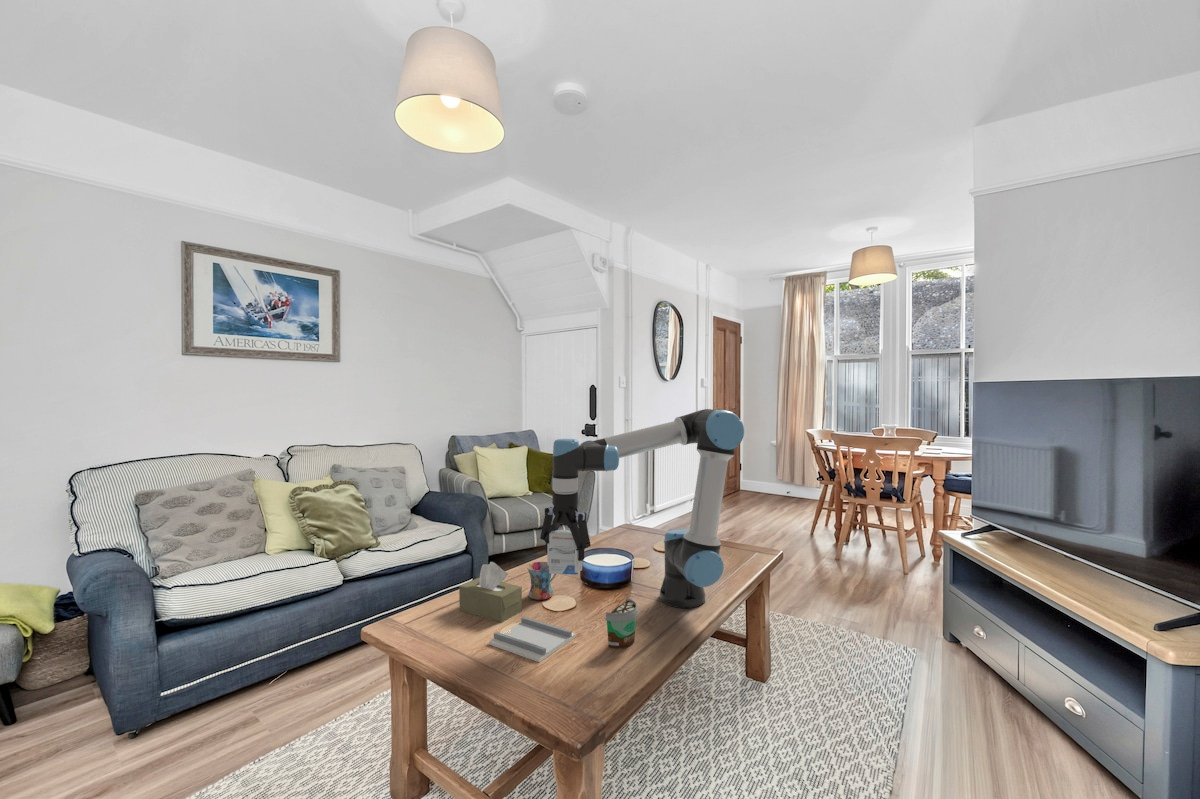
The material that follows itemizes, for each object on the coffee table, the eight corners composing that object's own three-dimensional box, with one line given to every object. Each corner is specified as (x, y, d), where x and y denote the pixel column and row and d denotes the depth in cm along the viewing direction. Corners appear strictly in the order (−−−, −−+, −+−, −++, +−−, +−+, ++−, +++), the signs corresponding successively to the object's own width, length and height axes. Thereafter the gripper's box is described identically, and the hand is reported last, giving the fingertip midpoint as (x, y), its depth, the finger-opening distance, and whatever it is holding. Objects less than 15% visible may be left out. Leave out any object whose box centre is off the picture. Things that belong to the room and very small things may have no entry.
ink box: (580, 569, 152) (580, 530, 152) (577, 575, 147) (577, 534, 147) (551, 568, 153) (552, 528, 153) (548, 573, 148) (548, 533, 148)
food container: (625, 655, 135) (625, 617, 135) (605, 649, 139) (605, 612, 138) (646, 636, 146) (646, 601, 146) (627, 631, 149) (627, 597, 149)
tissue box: (523, 611, 164) (522, 562, 164) (502, 623, 155) (501, 571, 155) (480, 599, 173) (479, 553, 173) (458, 610, 165) (457, 561, 165)
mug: (538, 604, 169) (538, 572, 169) (521, 596, 175) (521, 566, 175) (566, 594, 177) (565, 563, 177) (549, 587, 184) (548, 557, 184)
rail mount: (575, 637, 146) (575, 628, 146) (539, 662, 132) (539, 652, 132) (527, 622, 155) (527, 614, 155) (489, 644, 142) (489, 635, 142)
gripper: (603, 494, 147) (602, 571, 147) (544, 485, 159) (543, 557, 159) (588, 498, 140) (587, 579, 140) (528, 489, 153) (527, 563, 153)
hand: (564, 567), depth 150 cm, fingers closed on ink box, 9 cm apart
